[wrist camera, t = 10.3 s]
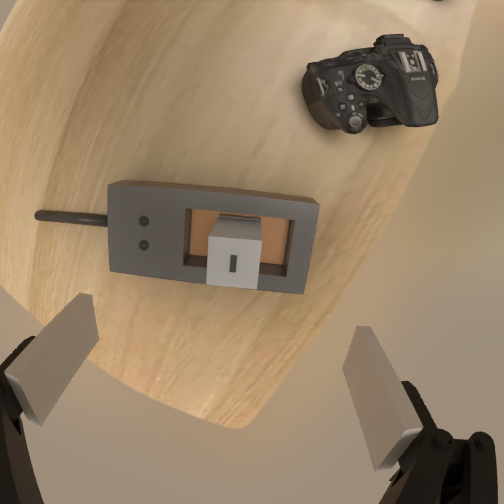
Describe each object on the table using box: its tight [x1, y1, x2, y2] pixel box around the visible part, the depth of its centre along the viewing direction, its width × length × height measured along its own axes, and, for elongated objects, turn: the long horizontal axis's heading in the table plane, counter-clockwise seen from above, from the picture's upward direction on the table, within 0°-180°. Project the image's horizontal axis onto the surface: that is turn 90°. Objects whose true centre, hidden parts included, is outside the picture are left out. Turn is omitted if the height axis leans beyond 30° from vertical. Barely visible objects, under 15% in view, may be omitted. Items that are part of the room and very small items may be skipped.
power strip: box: [34, 180, 319, 294], centre depth 30 cm, size 33×9×4 cm, turn 84°
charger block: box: [206, 214, 262, 289], centre depth 27 cm, size 4×4×8 cm
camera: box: [302, 34, 439, 134], centre depth 22 cm, size 13×10×10 cm
